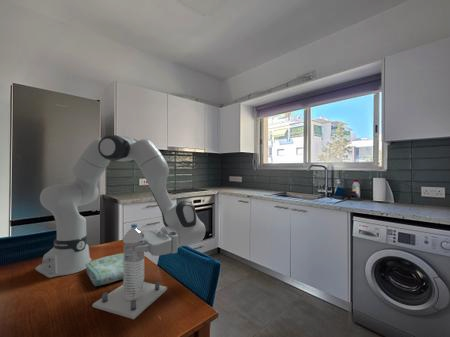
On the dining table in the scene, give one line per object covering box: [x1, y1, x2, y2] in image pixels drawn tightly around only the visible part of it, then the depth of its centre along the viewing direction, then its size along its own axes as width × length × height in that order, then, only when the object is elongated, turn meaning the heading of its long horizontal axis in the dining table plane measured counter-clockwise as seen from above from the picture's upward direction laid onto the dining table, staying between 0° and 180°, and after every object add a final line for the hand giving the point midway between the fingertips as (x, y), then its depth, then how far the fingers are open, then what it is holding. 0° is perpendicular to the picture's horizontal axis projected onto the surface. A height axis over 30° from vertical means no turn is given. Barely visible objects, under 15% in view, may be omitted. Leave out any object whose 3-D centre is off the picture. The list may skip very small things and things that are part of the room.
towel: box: [85, 252, 124, 287], centre depth 94 cm, size 18×21×5 cm
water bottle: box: [122, 223, 145, 301], centre depth 75 cm, size 7×7×25 cm
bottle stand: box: [92, 280, 168, 320], centre depth 75 cm, size 17×17×4 cm
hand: (130, 245), depth 75 cm, fingers open, 8 cm apart
